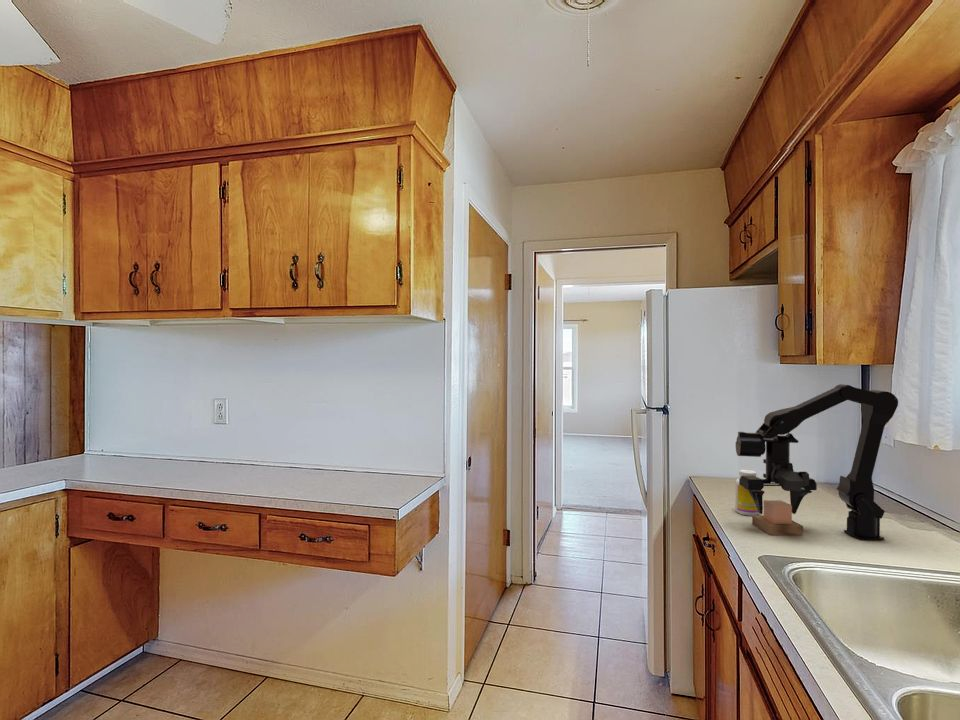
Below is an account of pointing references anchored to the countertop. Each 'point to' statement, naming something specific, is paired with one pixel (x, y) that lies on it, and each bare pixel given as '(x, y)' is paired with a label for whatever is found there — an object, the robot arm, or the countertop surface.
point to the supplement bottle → (745, 497)
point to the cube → (777, 512)
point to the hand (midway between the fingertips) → (777, 513)
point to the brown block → (777, 527)
